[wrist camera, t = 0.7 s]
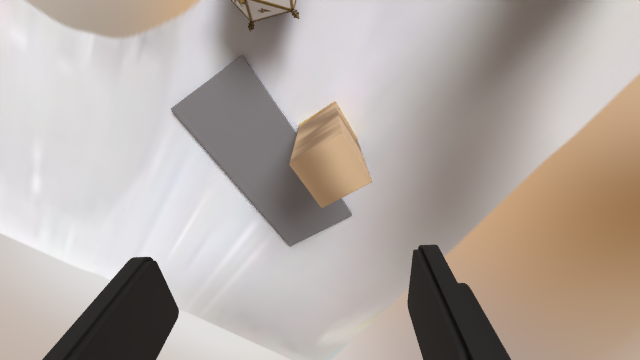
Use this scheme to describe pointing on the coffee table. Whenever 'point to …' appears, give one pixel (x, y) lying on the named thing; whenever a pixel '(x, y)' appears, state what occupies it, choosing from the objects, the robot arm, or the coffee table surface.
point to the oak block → (329, 156)
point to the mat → (256, 150)
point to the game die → (265, 9)
